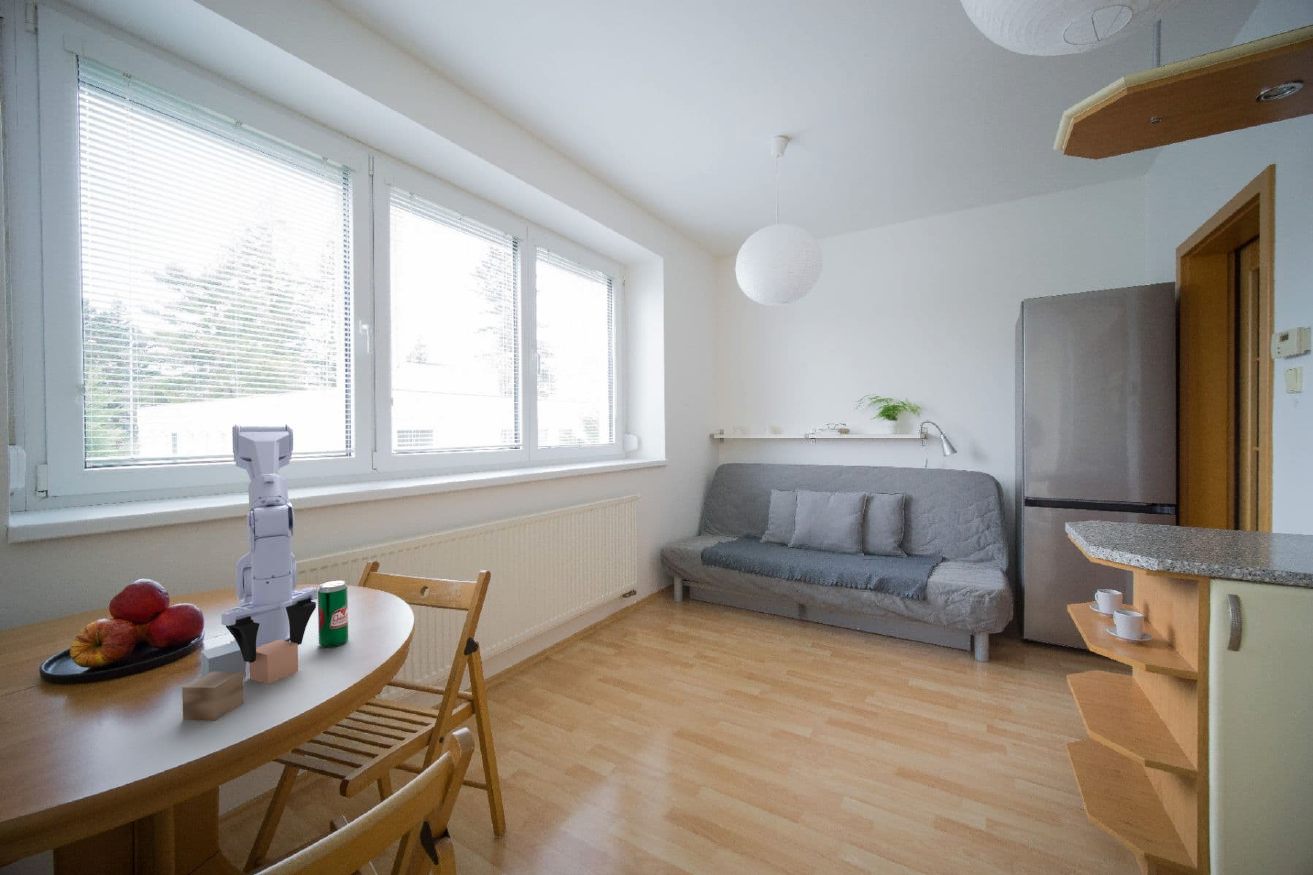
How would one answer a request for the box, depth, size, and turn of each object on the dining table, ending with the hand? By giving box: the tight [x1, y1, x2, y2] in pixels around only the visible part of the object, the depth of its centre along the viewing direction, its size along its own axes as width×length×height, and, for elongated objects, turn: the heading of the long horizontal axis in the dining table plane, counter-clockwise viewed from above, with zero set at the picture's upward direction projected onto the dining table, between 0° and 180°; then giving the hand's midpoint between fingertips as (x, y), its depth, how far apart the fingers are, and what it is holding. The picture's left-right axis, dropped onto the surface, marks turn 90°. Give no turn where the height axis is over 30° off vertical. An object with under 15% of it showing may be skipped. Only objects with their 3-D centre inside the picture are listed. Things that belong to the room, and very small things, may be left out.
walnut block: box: [181, 671, 245, 722], centre depth 79 cm, size 5×5×5 cm
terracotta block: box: [248, 639, 299, 685], centre depth 91 cm, size 5×5×5 cm
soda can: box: [317, 580, 349, 648], centre depth 104 cm, size 5×5×12 cm
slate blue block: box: [200, 642, 247, 678], centre depth 90 cm, size 5×5×5 cm
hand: (273, 651), depth 91 cm, fingers open, 7 cm apart
